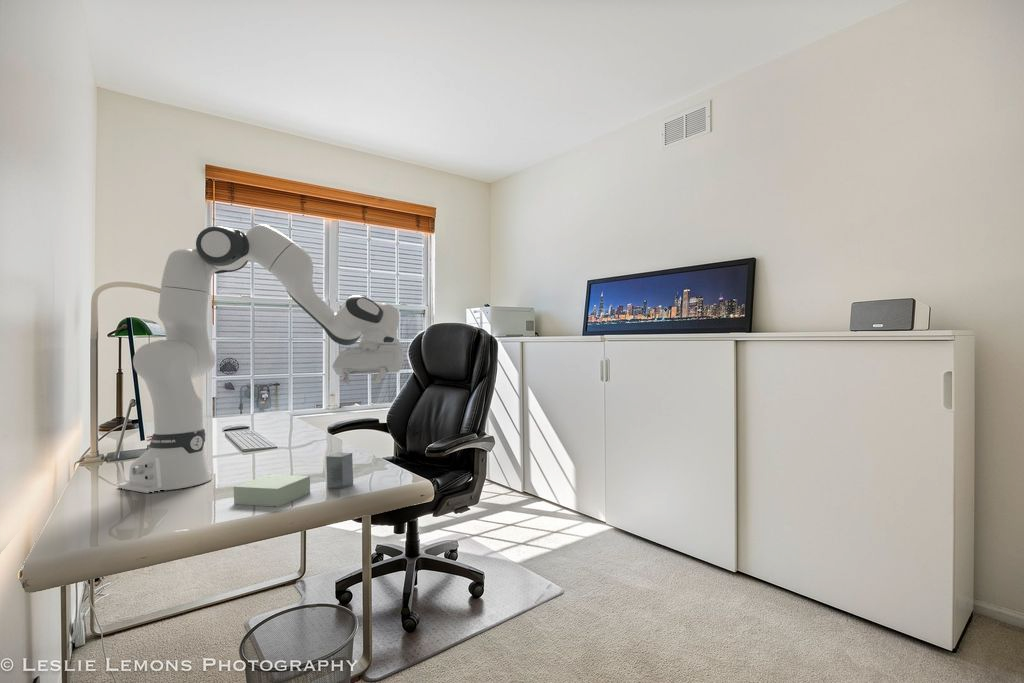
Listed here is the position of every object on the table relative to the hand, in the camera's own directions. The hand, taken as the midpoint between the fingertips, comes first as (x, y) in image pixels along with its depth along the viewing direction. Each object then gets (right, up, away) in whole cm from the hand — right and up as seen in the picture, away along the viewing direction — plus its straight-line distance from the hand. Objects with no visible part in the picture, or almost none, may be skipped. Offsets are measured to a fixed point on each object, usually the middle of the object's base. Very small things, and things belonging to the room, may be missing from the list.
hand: (360, 382), depth 140 cm
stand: (-14, -26, -21) cm, 36 cm away
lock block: (-1, -25, -12) cm, 28 cm away
